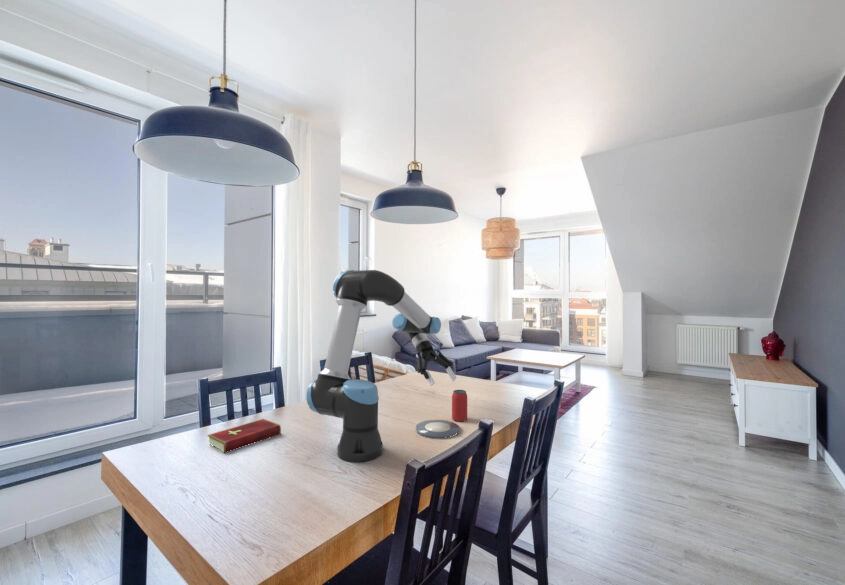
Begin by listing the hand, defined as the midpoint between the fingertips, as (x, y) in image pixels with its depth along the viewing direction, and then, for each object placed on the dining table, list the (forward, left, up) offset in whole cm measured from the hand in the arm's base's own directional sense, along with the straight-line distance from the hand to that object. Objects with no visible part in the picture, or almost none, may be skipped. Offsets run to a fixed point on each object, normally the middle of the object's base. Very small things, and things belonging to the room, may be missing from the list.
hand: (444, 382), depth 166 cm
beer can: (-2, -10, -14) cm, 17 cm away
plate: (-18, -10, -14) cm, 25 cm away
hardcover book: (-71, +37, -15) cm, 82 cm away
